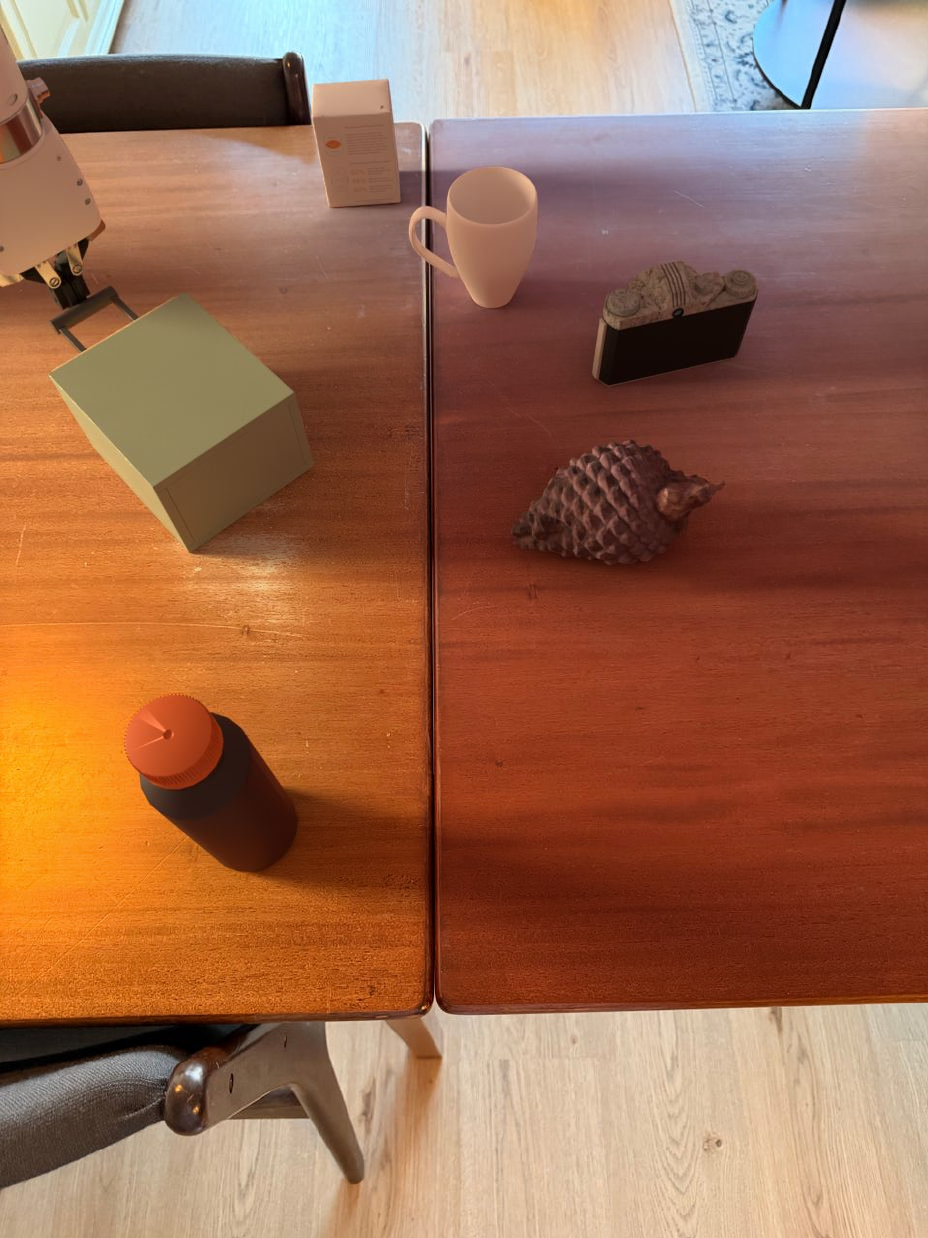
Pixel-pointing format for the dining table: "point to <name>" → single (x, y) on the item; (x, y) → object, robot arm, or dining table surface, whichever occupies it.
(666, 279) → the camera
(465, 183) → the mug
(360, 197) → the small box
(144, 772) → the bottle
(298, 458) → the cabinet
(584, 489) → the pine cone
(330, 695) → the dining table surface
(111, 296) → the drawer
